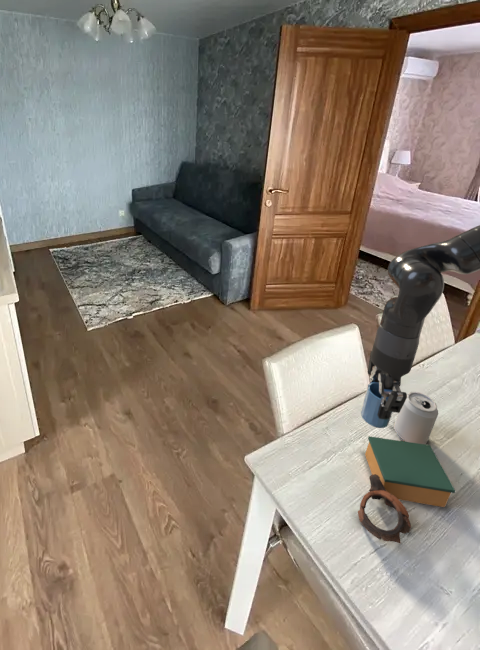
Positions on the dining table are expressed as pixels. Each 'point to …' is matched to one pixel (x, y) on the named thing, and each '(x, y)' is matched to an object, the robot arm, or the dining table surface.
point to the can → (416, 418)
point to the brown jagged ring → (390, 500)
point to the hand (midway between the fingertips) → (377, 406)
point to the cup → (373, 406)
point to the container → (409, 471)
